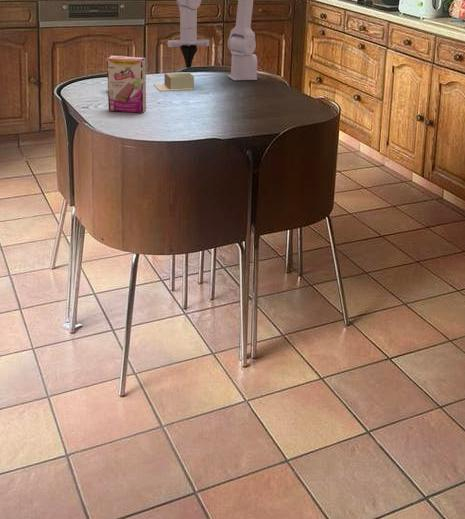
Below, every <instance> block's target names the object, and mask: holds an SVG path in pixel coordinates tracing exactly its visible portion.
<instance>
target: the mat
mask: <svg viewBox="0 0 465 519" xmlns="http://www.w3.org/2000/svg"><path fill="white" fill-rule="evenodd" d="M153 86H154V87H155V88H156V90H158V91H159V92H175V91H176V92H178V91H194V88H185V89H168V88H167V87H166V86H165V83H153Z"/></svg>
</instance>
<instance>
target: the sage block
mask: <svg viewBox="0 0 465 519" xmlns="http://www.w3.org/2000/svg"><path fill="white" fill-rule="evenodd" d="M163 81H164V84H165V86H166V87H167V88H168V89H185V88H193V89H194V88H195V76H194V75H192V73H191V72H168V73H167V72H166V73H165V72H164V80H163Z"/></svg>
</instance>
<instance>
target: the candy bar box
mask: <svg viewBox="0 0 465 519" xmlns="http://www.w3.org/2000/svg"><path fill="white" fill-rule="evenodd" d="M106 67H107V68H106V69H107V71H106V72H107V73H106V74H107V99H108V106H107V107H108V112H120V113H134V114H135V113H137V114H143V113H144V112H145V111H146V110H147V81H146V80H147V78H146V73H147V71H146V69H147V68H146V67H147V66H146V58H145V57H137V56H127V57H125V56H110V55H109V57H107V58H106Z"/></svg>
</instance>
